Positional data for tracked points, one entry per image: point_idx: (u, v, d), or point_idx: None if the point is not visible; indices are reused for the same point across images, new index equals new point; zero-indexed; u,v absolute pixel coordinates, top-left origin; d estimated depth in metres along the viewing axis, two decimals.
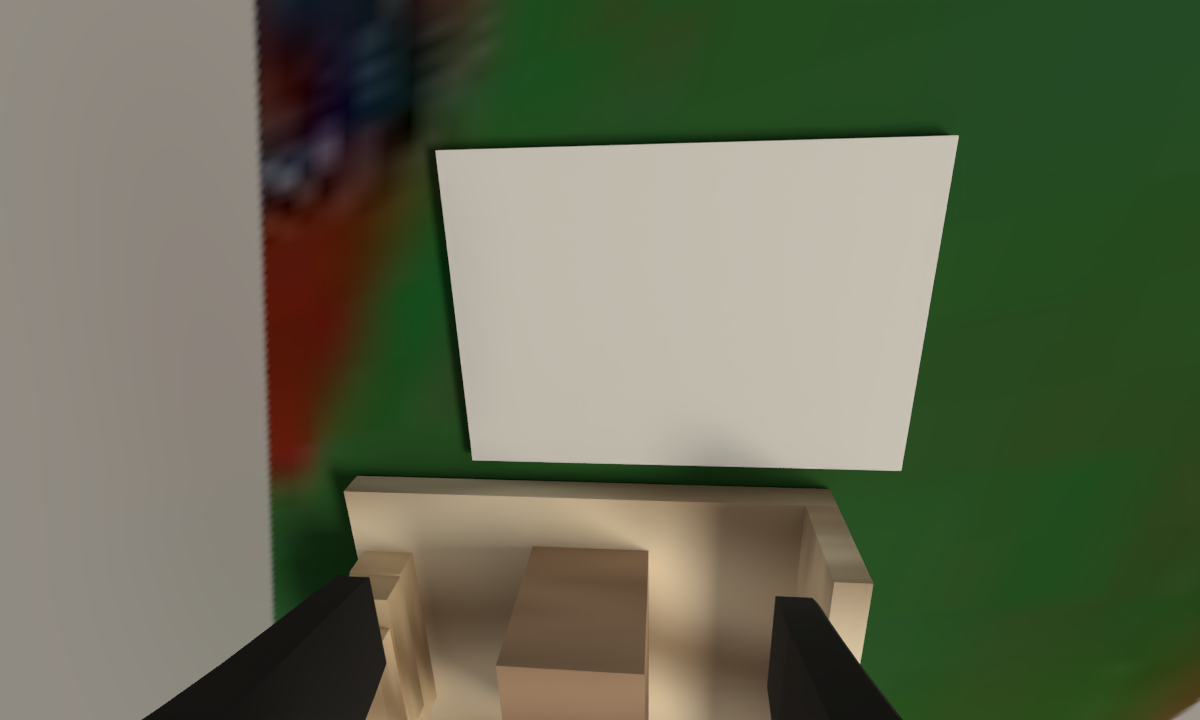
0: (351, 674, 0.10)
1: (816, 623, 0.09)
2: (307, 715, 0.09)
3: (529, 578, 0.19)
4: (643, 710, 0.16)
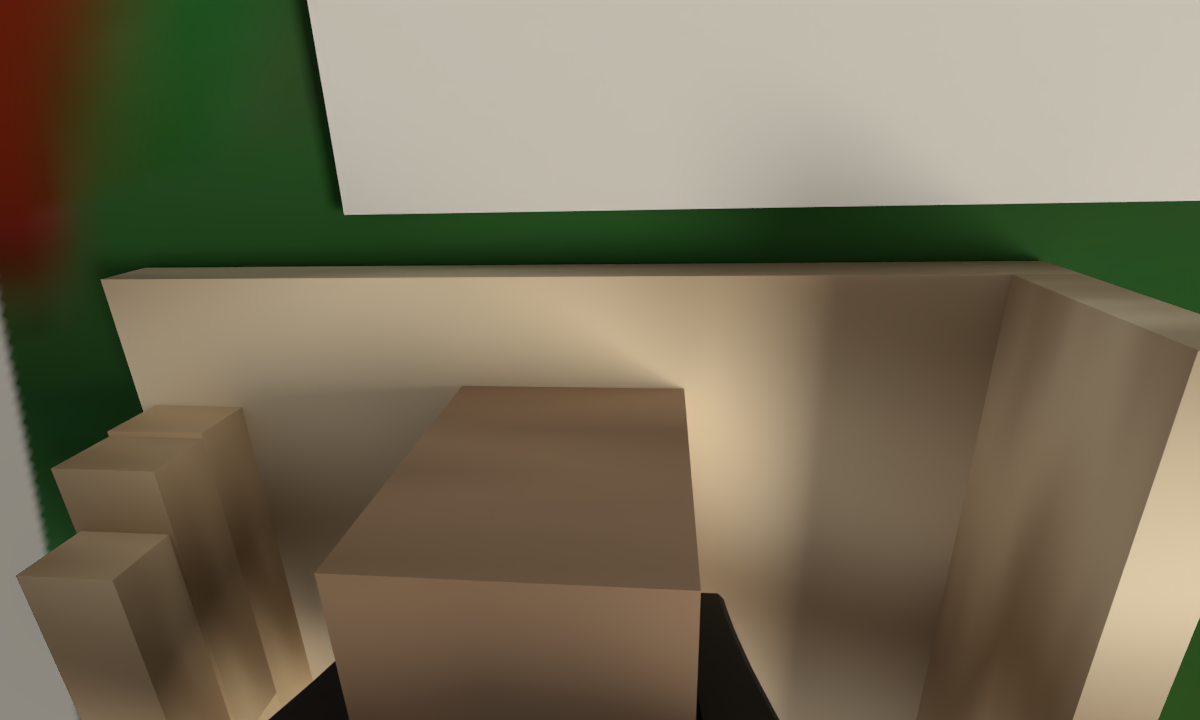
0: None
1: (713, 618, 0.09)
2: None
3: (443, 425, 0.09)
4: (694, 689, 0.06)
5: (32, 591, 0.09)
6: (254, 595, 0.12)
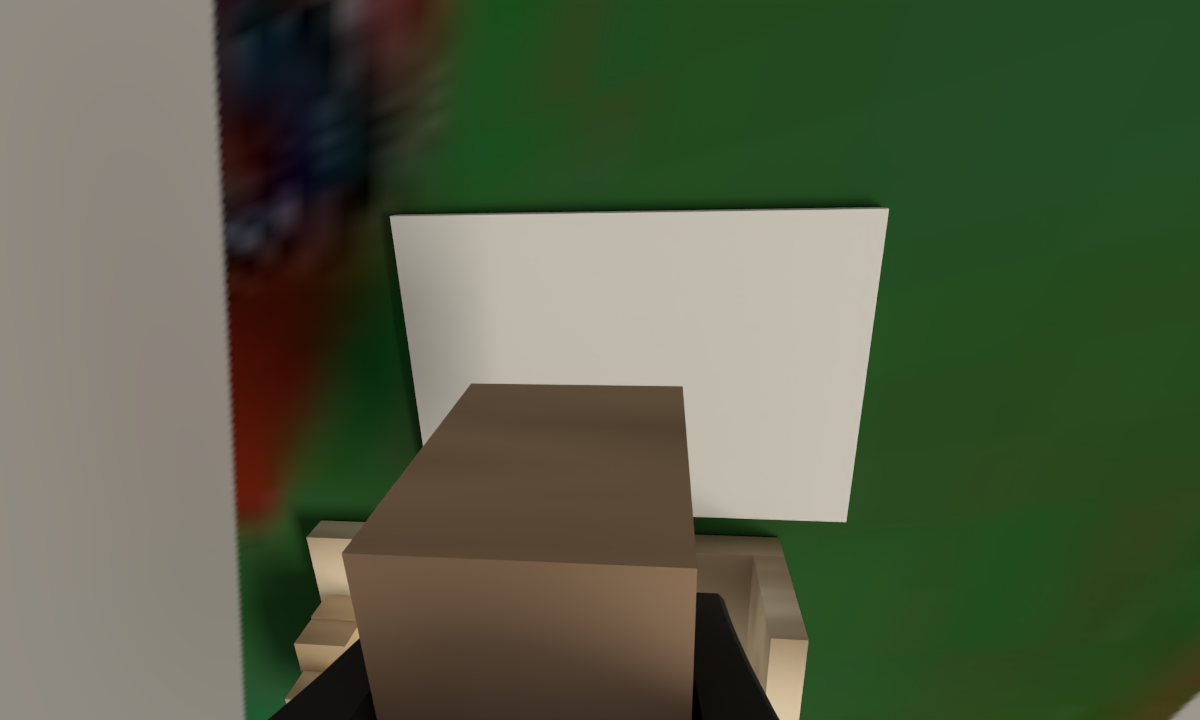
0: None
1: (713, 618, 0.09)
2: None
3: (455, 420, 0.10)
4: (690, 661, 0.07)
5: None
6: None
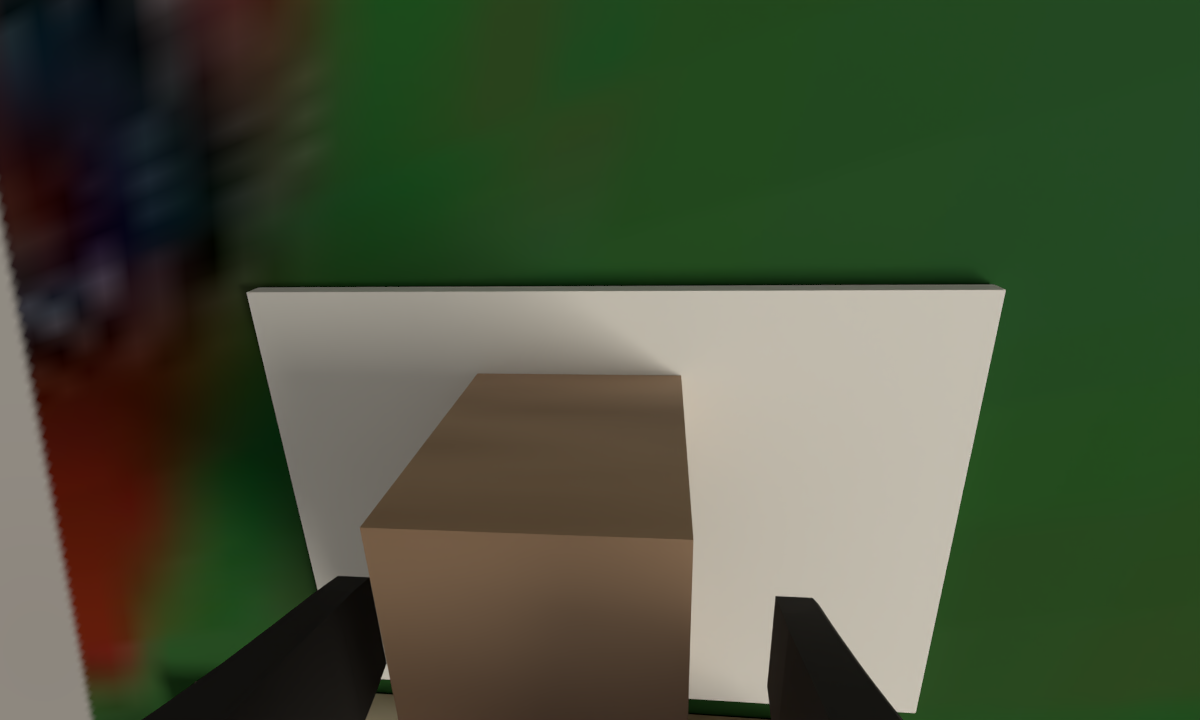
0: (351, 674, 0.10)
1: (816, 623, 0.09)
2: (307, 715, 0.09)
3: (463, 407, 0.10)
4: (687, 628, 0.07)
5: None
6: None
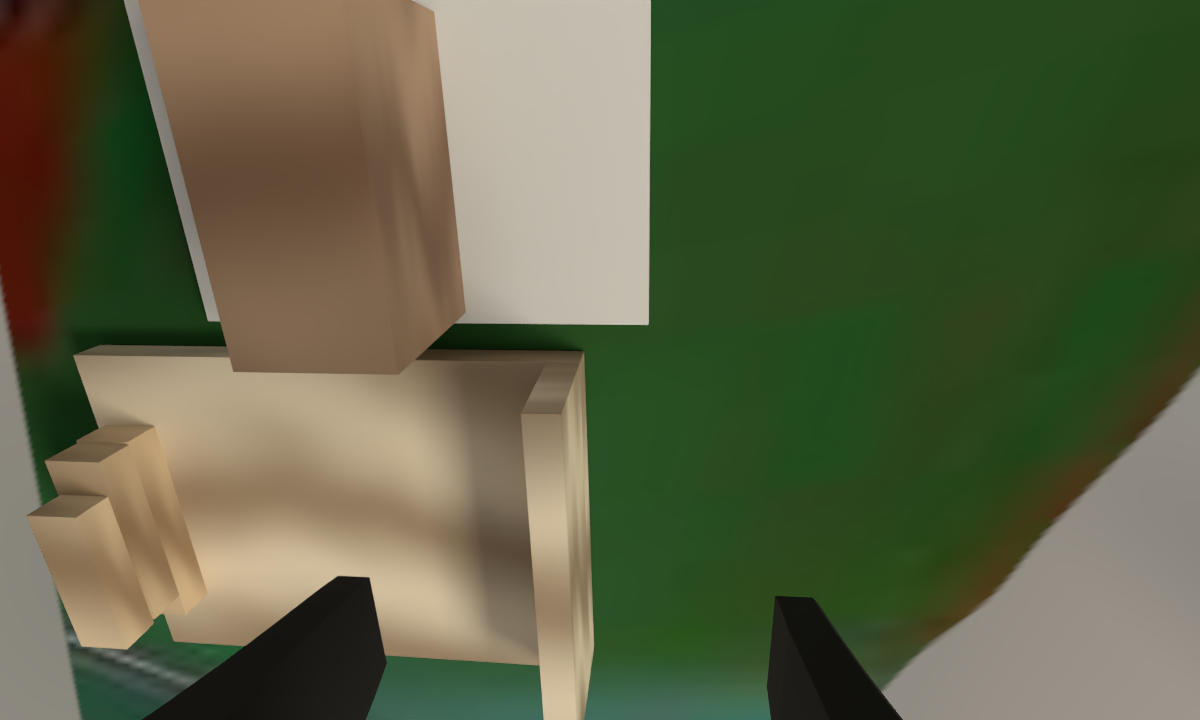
0: (351, 674, 0.10)
1: (816, 623, 0.09)
2: (307, 715, 0.09)
3: None
4: (347, 44, 0.11)
5: (34, 524, 0.18)
6: (163, 535, 0.21)
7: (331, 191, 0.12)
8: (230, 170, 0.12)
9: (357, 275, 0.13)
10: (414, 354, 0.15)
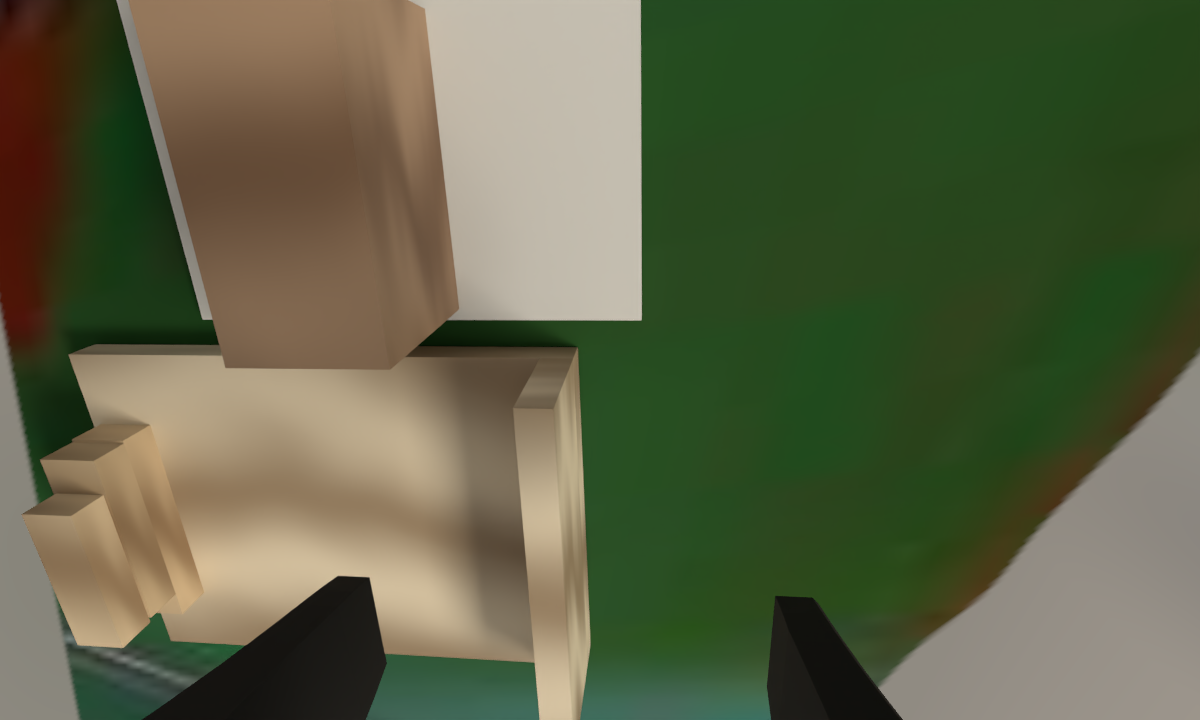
0: (351, 674, 0.10)
1: (816, 623, 0.09)
2: (307, 715, 0.09)
3: None
4: (335, 39, 0.11)
5: (30, 522, 0.18)
6: (159, 534, 0.21)
7: (321, 187, 0.12)
8: (220, 166, 0.12)
9: (347, 270, 0.13)
10: (406, 349, 0.15)
